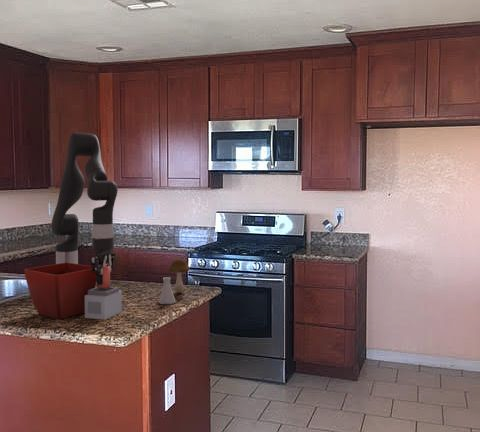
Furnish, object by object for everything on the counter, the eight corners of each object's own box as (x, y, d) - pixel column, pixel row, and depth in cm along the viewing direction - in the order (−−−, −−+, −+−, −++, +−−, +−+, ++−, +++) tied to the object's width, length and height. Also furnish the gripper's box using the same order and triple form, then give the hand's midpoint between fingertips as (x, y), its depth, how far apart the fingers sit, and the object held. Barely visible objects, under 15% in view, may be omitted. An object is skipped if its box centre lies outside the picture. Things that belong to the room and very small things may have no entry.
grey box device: (84, 318, 203) (84, 291, 202) (102, 310, 215) (102, 285, 214) (104, 319, 201) (103, 293, 200) (121, 311, 213) (121, 286, 212)
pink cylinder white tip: (94, 287, 206) (94, 264, 205) (101, 285, 210) (101, 262, 210) (106, 288, 204) (105, 264, 204) (112, 286, 209) (112, 262, 208)
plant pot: (57, 323, 196) (56, 274, 195) (23, 315, 207) (22, 268, 206) (100, 312, 212) (99, 267, 210) (67, 305, 223) (66, 262, 221)
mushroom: (188, 289, 253) (188, 256, 252) (191, 295, 242) (191, 260, 241) (167, 290, 251) (167, 256, 250) (169, 295, 240) (169, 260, 239)
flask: (155, 301, 230) (155, 277, 229) (173, 300, 232) (173, 276, 232) (159, 305, 223) (159, 280, 222) (178, 304, 226) (178, 279, 225)
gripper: (104, 234, 214) (104, 279, 215) (82, 238, 200) (83, 286, 202) (122, 234, 212) (122, 280, 213) (101, 238, 198) (102, 287, 199)
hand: (103, 283), depth 207 cm, fingers closed on pink cylinder white tip, 4 cm apart
